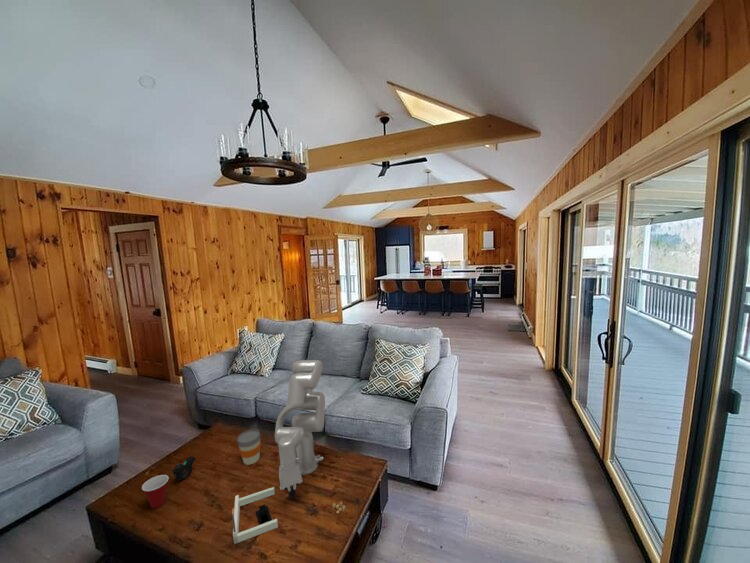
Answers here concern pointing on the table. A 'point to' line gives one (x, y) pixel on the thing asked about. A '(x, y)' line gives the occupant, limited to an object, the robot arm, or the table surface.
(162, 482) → the plastic cup
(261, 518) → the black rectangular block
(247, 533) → the frame
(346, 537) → the table surface
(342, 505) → the dice set
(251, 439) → the reusable coffee cup
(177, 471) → the controller
